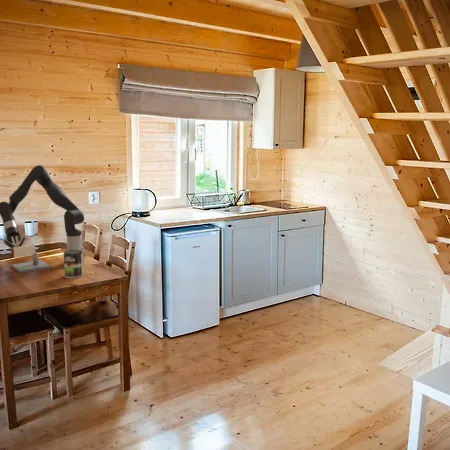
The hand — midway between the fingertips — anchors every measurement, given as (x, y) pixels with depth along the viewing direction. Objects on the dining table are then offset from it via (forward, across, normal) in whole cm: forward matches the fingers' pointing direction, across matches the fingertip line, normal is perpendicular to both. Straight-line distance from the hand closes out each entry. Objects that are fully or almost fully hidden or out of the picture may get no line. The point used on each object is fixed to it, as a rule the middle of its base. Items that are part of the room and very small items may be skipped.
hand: (17, 252), depth 311 cm
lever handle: (+8, -4, -2) cm, 9 cm away
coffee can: (+34, -21, +20) cm, 45 cm away
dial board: (+10, -6, -3) cm, 12 cm away
